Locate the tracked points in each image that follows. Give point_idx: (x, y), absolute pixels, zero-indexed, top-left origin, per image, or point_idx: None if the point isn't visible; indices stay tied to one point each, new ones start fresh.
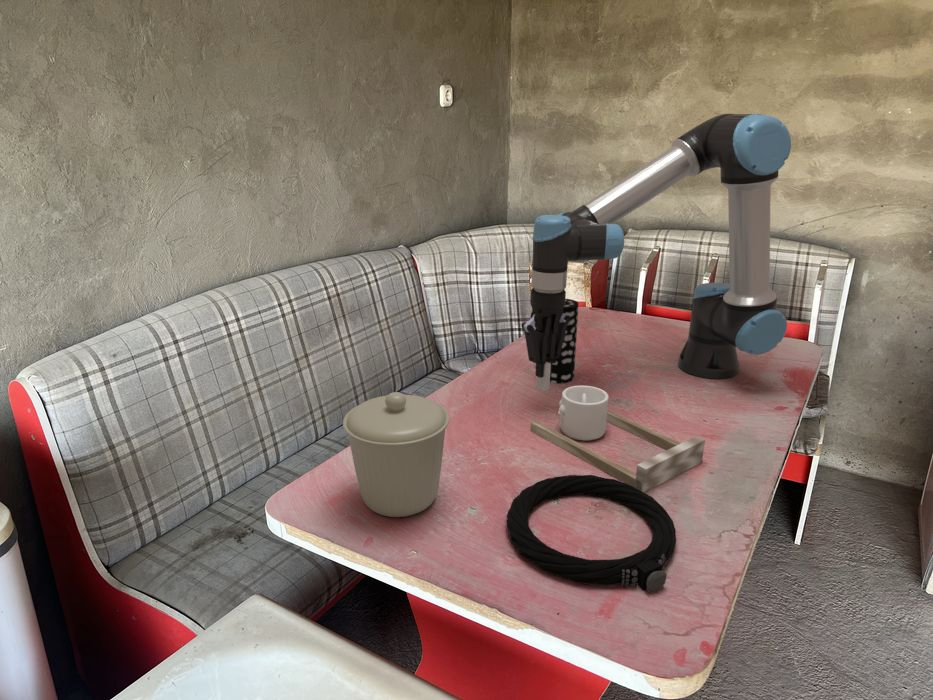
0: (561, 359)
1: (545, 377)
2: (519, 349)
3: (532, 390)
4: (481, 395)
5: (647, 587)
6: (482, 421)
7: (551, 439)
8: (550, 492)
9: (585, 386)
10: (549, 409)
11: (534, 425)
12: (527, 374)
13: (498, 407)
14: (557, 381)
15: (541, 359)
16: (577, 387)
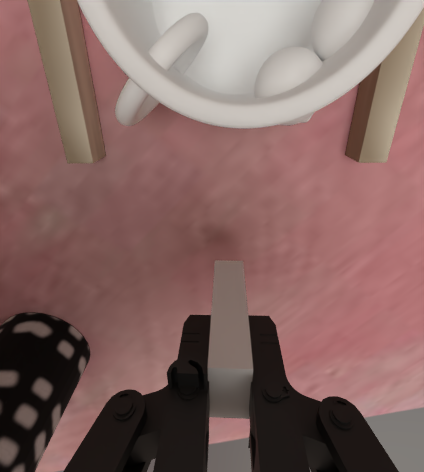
0: (13, 390)
1: (246, 304)
2: (50, 460)
3: (158, 330)
4: (285, 373)
5: None
6: (411, 283)
7: None
8: None
9: (136, 54)
10: (200, 227)
11: (389, 138)
12: (110, 388)
13: (307, 313)
14: (66, 328)
15: (298, 423)
16: (190, 93)
